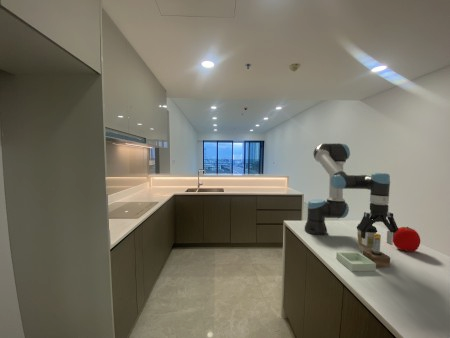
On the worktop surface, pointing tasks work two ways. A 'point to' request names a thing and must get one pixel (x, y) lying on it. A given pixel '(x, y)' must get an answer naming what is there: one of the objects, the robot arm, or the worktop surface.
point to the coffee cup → (370, 239)
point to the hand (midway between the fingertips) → (377, 244)
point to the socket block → (377, 258)
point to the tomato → (406, 239)
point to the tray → (356, 261)
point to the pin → (376, 244)
